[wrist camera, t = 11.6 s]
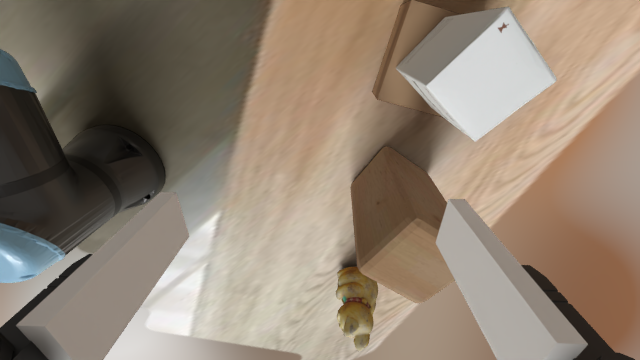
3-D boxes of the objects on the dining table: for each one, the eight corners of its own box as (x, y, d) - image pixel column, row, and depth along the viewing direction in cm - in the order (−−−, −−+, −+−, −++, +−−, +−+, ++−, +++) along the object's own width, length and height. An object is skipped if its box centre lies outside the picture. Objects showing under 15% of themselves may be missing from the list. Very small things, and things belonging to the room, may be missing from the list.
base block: (371, 91, 39) (377, 99, 33) (400, 5, 33) (411, -1, 28) (440, 109, 39) (456, 120, 34) (479, 28, 34) (504, 27, 29)
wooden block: (384, 141, 42) (418, 215, 25) (429, 173, 44) (489, 261, 27) (348, 185, 46) (353, 273, 29) (390, 211, 49) (420, 309, 31)
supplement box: (393, 67, 32) (422, 84, 21) (445, 14, 29) (512, 1, 18) (430, 109, 34) (474, 144, 23) (482, 64, 31) (562, 79, 20)
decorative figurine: (329, 267, 57) (327, 336, 44) (362, 252, 54) (369, 321, 41) (352, 292, 60) (357, 363, 47) (384, 279, 57) (398, 351, 44)
